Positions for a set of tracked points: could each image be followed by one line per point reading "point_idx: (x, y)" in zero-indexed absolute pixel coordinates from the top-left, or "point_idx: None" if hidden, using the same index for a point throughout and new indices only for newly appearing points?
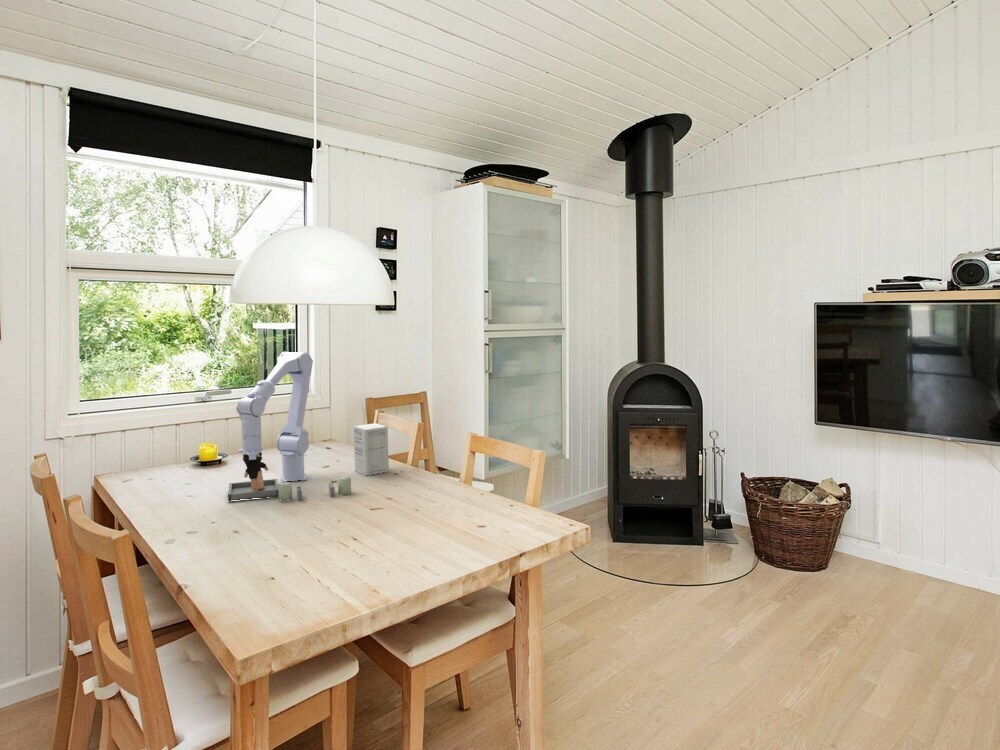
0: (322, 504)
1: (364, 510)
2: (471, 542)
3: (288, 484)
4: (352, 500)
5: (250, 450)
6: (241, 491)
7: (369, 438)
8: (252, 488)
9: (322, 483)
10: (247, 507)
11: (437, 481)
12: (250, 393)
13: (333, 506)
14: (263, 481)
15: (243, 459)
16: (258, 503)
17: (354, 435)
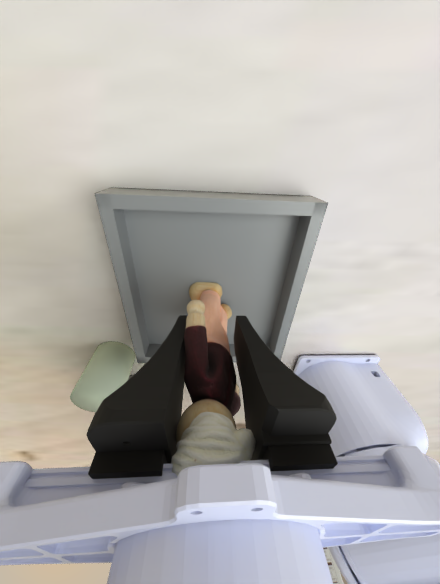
0: (60, 407)
1: (15, 446)
2: None
3: (85, 406)
4: (86, 439)
5: (114, 552)
6: (230, 247)
7: None
8: (202, 293)
9: (239, 413)
10: (32, 260)
11: None
12: None
13: (43, 419)
14: (279, 327)
15: (101, 415)
16: (83, 293)
17: (333, 571)
